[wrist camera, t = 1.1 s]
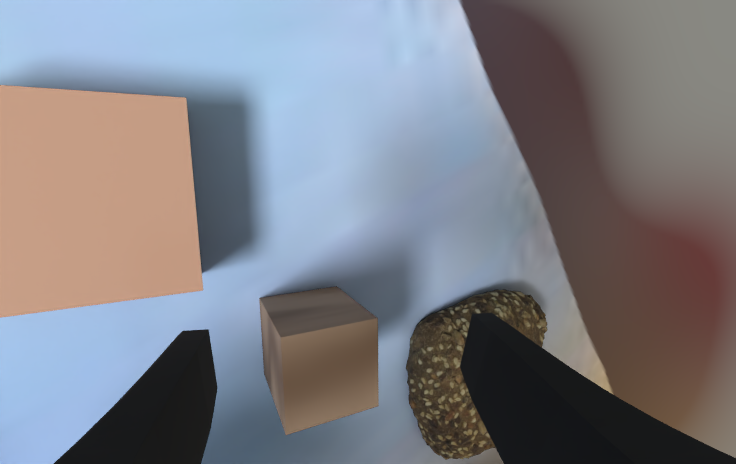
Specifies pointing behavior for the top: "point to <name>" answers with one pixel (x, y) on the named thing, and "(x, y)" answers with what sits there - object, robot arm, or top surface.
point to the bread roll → (443, 374)
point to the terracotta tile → (94, 199)
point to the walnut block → (319, 356)
